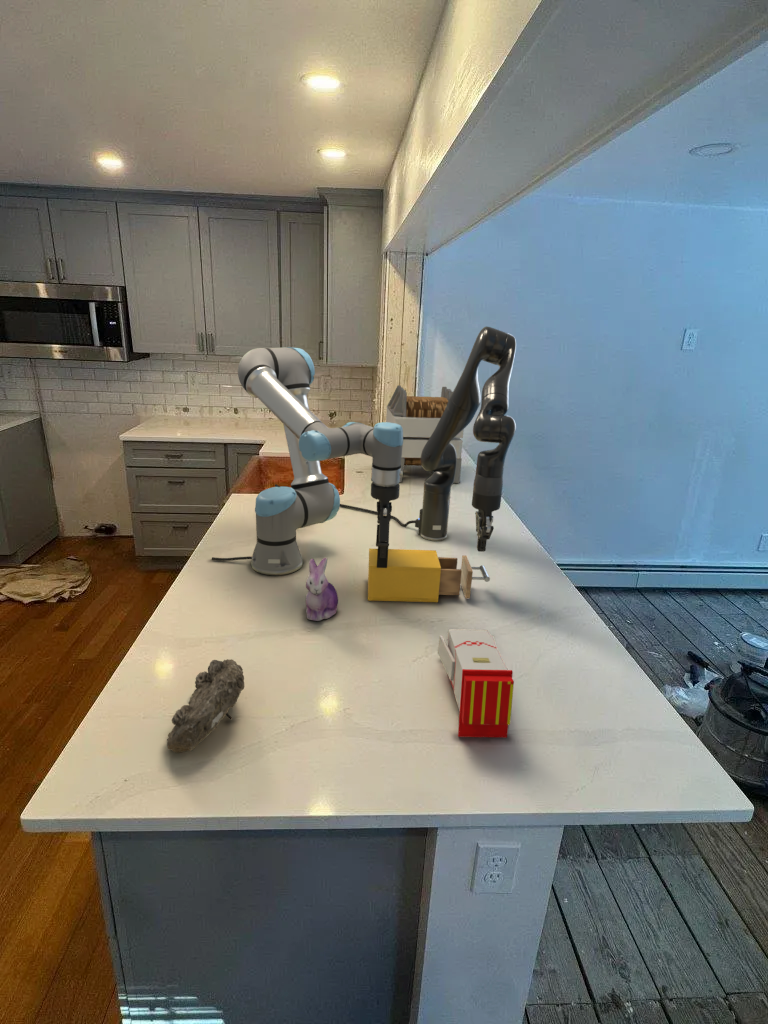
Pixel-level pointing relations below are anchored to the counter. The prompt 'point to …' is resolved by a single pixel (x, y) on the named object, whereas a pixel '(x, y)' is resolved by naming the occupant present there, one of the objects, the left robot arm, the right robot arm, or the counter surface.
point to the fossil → (206, 705)
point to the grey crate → (420, 424)
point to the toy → (478, 682)
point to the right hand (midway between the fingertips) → (480, 550)
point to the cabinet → (404, 576)
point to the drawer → (458, 576)
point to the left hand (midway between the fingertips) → (381, 556)
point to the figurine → (320, 593)
